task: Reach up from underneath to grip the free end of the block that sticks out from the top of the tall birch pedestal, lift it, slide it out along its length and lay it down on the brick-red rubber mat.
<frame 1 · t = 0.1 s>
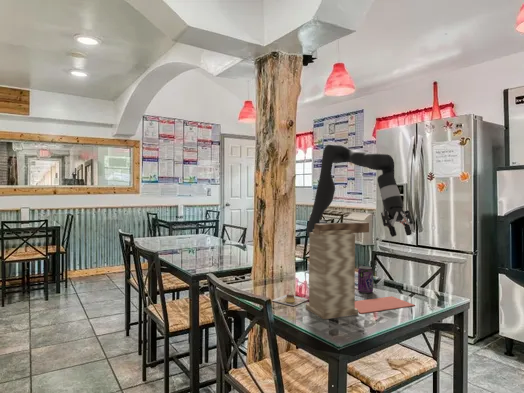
hand: (401, 235, 147), 31 cm above the table, tool tilted 20°, fingers open, 8 cm apart
dessert: (290, 302, 163), on the table
mat: (377, 304, 158), on the table
block: (342, 232, 151), point 32 cm above the table, touching pedestal
pedestal: (331, 311, 149), on the table
beverage can: (365, 292, 179), on the table
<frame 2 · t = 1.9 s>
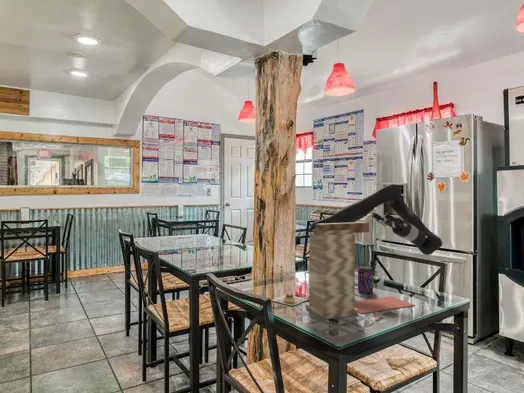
hand: (379, 214, 162), 39 cm above the table, tool pointing upward, fingers open, 8 cm apart
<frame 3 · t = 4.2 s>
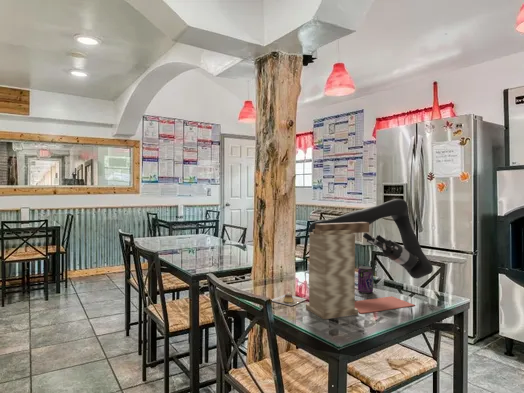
hand: (370, 235, 156), 30 cm above the table, tool pointing upward, fingers open, 8 cm apart
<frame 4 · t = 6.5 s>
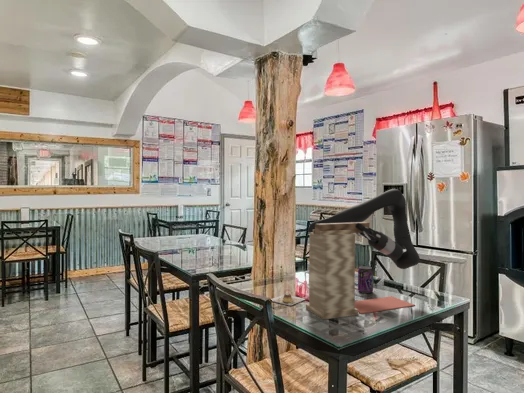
hand: (353, 224, 153), 35 cm above the table, tool pointing upward, fingers closed on block, 4 cm apart
block: (342, 232, 151), point 32 cm above the table, touching gripper, pedestal
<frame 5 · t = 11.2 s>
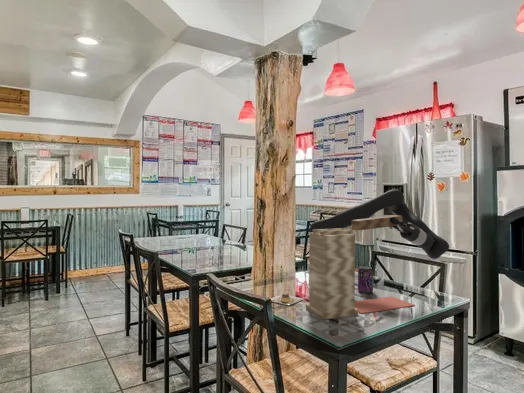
hand: (387, 218, 158), 38 cm above the table, tool pointing upward, fingers closed on block, 4 cm apart
block: (377, 227, 156), point 34 cm above the table, touching gripper
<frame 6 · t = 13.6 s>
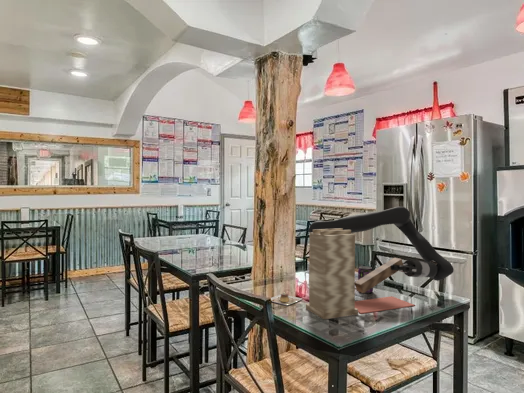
hand: (387, 266, 157), 17 cm above the table, tool horizontal, fingers closed on block, 4 cm apart
block: (381, 278, 156), point 12 cm above the table, tilted 22°, touching gripper
when the fingers open (7 cm above the table, at t = 15.8 s): block drops 3 cm, resting on mat.
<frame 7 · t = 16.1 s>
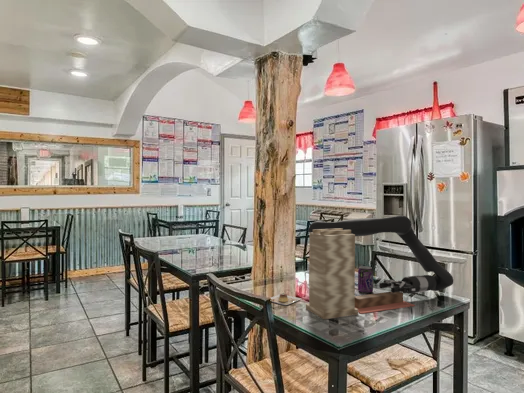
hand: (385, 287, 160), 7 cm above the table, tool horizontal, fingers open, 7 cm apart
block: (378, 303, 158), resting on mat
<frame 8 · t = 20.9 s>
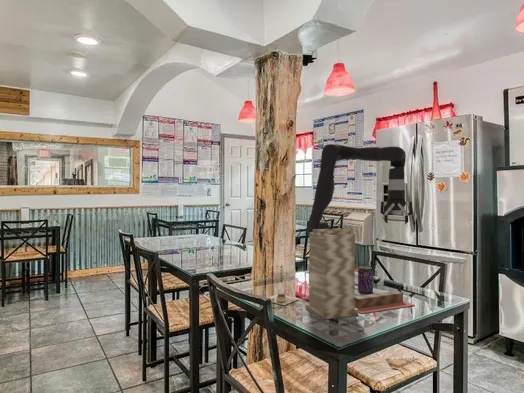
hand: (396, 223, 173), 34 cm above the table, tool pointing down, fingers open, 8 cm apart
at the end: block inside the target area on the mat (0.3 cm from its centre), point 0.4 cm above the mat's base; block touching mat; the gripper is holding nothing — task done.
